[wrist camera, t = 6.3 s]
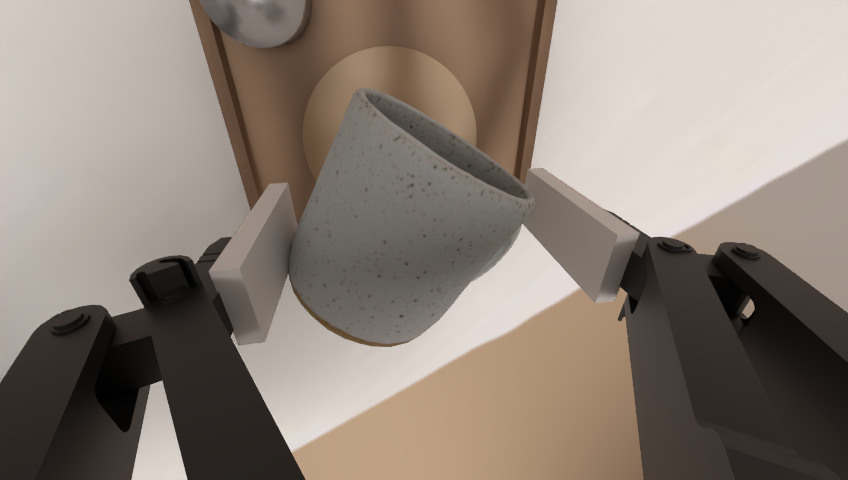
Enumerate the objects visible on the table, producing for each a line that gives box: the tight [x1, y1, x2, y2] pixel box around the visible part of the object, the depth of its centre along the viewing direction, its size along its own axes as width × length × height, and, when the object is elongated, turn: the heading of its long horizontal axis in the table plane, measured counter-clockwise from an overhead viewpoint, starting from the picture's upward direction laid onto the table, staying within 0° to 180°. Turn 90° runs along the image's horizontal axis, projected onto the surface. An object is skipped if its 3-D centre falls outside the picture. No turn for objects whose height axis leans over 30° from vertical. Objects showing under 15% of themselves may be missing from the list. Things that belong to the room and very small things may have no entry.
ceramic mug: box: [288, 88, 536, 347], centre depth 14 cm, size 11×8×8 cm
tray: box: [189, 0, 557, 225], centre depth 24 cm, size 22×20×2 cm
